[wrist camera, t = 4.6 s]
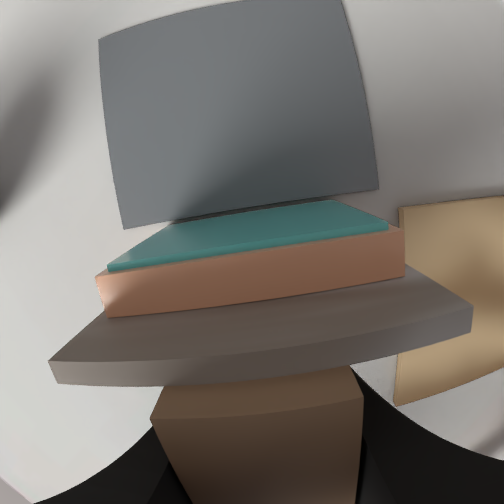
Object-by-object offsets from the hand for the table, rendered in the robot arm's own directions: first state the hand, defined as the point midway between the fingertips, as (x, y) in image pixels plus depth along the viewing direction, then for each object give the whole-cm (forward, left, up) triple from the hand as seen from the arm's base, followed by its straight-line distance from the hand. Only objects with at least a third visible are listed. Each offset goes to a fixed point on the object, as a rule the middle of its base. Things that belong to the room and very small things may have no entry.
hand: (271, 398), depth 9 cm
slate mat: (+10, 0, -6) cm, 12 cm away
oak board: (-2, -13, -6) cm, 15 cm away
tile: (+4, 0, -6) cm, 8 cm away
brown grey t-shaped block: (0, 0, -2) cm, 2 cm away
